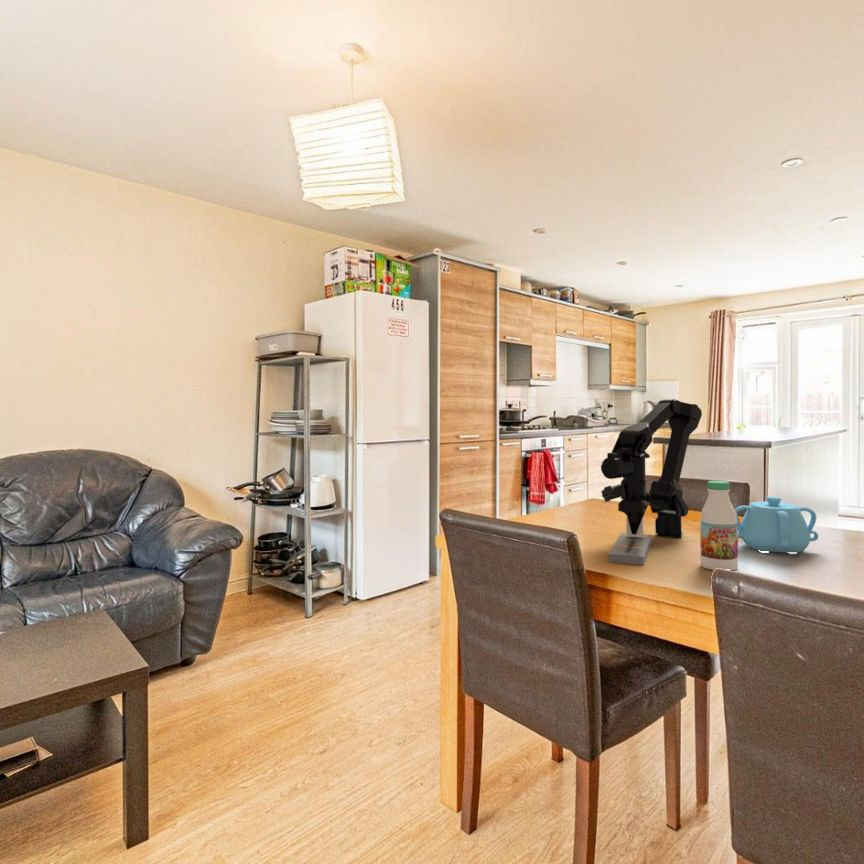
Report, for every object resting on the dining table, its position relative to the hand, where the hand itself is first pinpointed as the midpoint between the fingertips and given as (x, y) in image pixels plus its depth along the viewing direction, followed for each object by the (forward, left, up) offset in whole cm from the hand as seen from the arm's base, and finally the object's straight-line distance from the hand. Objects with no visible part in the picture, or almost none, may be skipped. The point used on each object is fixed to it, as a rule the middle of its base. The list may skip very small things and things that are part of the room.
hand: (634, 532), depth 151 cm
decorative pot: (-33, -6, -4) cm, 34 cm away
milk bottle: (-20, +16, -3) cm, 26 cm away
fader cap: (0, 0, -1) cm, 1 cm away
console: (0, +8, -3) cm, 9 cm away
